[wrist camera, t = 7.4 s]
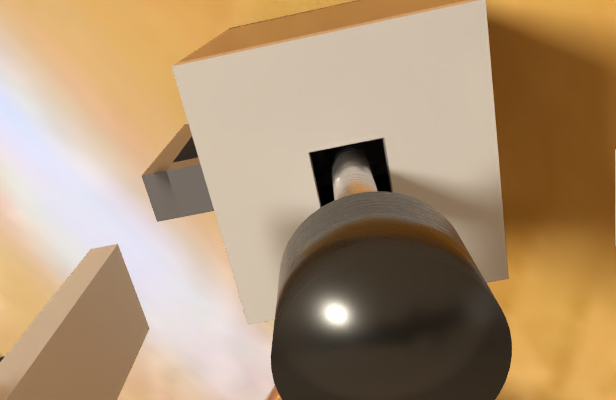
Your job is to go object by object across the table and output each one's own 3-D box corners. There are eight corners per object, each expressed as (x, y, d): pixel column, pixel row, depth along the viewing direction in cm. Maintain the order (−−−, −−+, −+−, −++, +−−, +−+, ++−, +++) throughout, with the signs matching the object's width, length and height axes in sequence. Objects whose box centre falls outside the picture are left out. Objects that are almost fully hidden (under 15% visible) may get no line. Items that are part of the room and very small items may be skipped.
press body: (432, 162, 33) (508, 278, 21) (224, 203, 34) (173, 337, 22) (409, -12, 30) (485, -2, 17) (177, 39, 31) (82, 85, 18)
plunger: (417, 162, 30) (599, 478, 11) (284, 188, 31) (245, 529, 12) (398, 23, 27) (593, 130, 9) (252, 54, 28) (133, 218, 9)
